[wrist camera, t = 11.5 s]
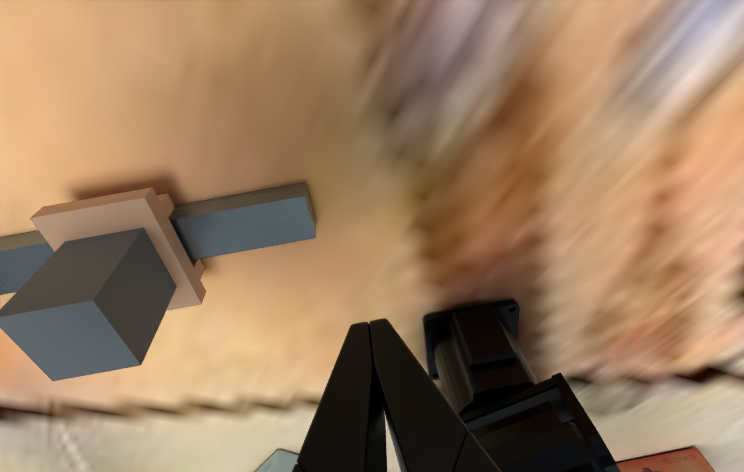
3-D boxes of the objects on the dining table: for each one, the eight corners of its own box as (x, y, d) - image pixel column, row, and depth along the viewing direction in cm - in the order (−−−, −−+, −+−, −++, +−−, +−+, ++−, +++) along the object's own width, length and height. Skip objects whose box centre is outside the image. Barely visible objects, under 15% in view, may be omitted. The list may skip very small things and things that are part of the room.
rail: (316, 222, 22) (315, 237, 21) (3, 279, 22) (-16, 297, 21) (305, 182, 21) (304, 196, 19) (-29, 242, 21) (-52, 260, 19)
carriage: (210, 279, 22) (173, 383, 17) (122, 295, 22) (56, 404, 17) (159, 177, 19) (91, 266, 13) (55, 196, 19) (-58, 293, 13)
